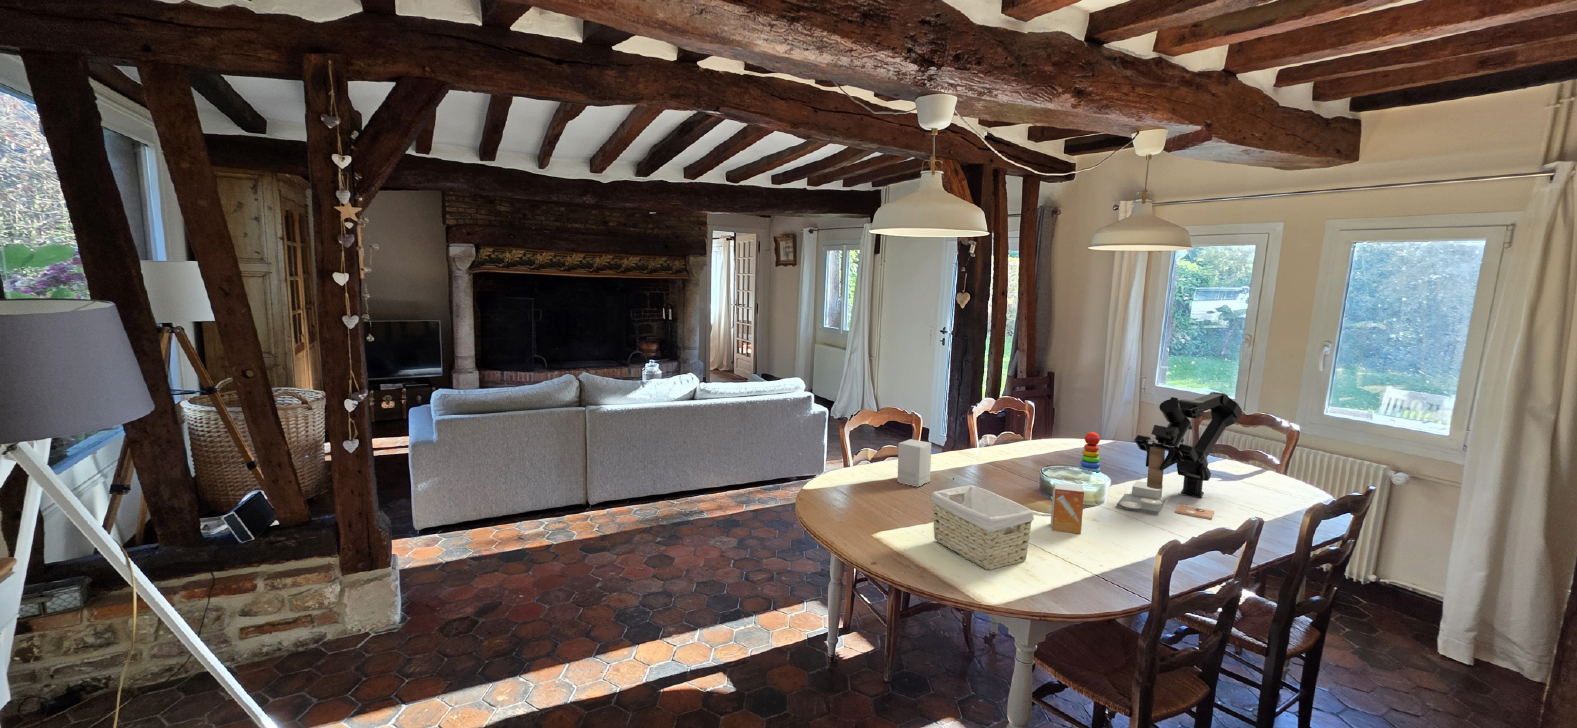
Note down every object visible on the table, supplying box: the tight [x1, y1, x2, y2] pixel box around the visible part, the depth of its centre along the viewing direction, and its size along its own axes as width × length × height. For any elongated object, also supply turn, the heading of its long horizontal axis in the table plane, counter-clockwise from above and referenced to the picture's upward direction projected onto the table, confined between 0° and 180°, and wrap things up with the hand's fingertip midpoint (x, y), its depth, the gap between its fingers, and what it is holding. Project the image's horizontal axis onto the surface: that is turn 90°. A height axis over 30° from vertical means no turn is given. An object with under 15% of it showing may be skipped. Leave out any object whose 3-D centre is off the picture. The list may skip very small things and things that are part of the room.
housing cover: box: [1131, 480, 1163, 500], centre depth 228 cm, size 8×8×4 cm
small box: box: [1050, 482, 1085, 535], centre depth 198 cm, size 8×6×13 cm
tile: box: [1174, 503, 1215, 520], centre depth 214 cm, size 8×10×1 cm
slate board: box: [1116, 493, 1165, 516], centre depth 219 cm, size 15×12×1 cm
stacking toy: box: [1079, 431, 1101, 473], centre depth 244 cm, size 8×8×19 cm
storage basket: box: [930, 484, 1035, 571], centre depth 181 cm, size 24×16×15 cm
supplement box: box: [897, 438, 932, 487], centre depth 241 cm, size 9×9×15 cm
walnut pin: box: [1146, 447, 1166, 489], centre depth 219 cm, size 4×4×13 cm
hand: (1153, 467), depth 218 cm, fingers closed on walnut pin, 4 cm apart
